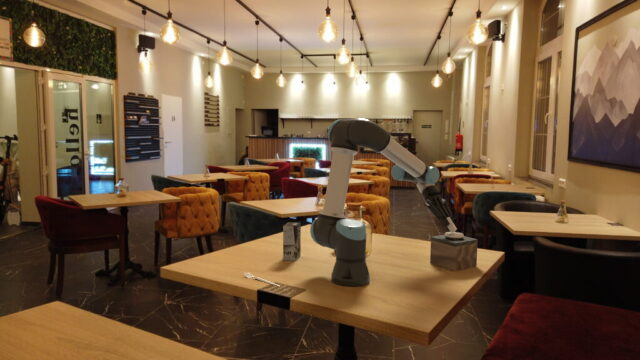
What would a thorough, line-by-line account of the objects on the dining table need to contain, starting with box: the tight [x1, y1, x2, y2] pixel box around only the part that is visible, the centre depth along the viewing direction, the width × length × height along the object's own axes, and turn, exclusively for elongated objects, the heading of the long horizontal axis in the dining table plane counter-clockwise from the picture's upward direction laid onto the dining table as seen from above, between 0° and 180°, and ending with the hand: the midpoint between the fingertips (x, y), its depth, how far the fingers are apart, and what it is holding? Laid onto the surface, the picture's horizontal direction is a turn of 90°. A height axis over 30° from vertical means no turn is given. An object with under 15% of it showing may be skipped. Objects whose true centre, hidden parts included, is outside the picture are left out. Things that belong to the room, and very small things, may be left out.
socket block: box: [429, 234, 479, 272], centre depth 201 cm, size 14×14×12 cm
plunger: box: [444, 231, 465, 240], centre depth 201 cm, size 8×8×13 cm
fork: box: [243, 271, 281, 287], centre depth 178 cm, size 3×20×2 cm, turn 50°
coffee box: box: [282, 221, 302, 262], centre depth 210 cm, size 9×6×16 cm
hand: (454, 230), depth 201 cm, fingers closed
